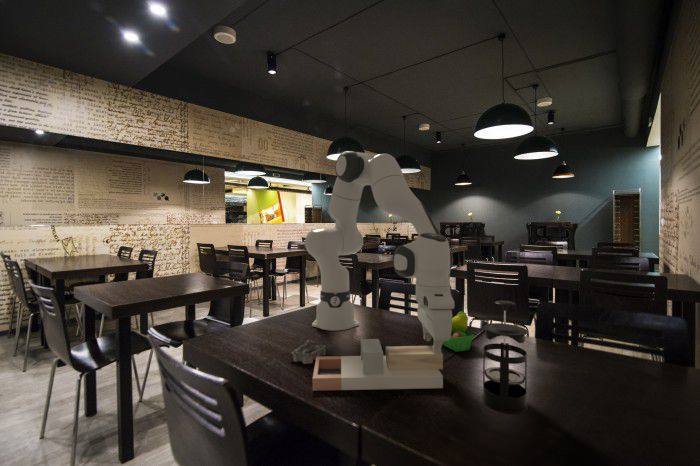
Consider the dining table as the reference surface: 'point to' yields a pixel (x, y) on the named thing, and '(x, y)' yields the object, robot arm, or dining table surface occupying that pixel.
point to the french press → (505, 368)
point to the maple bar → (413, 358)
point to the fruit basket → (459, 334)
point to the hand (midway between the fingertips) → (431, 346)
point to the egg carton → (308, 352)
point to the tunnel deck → (369, 372)
